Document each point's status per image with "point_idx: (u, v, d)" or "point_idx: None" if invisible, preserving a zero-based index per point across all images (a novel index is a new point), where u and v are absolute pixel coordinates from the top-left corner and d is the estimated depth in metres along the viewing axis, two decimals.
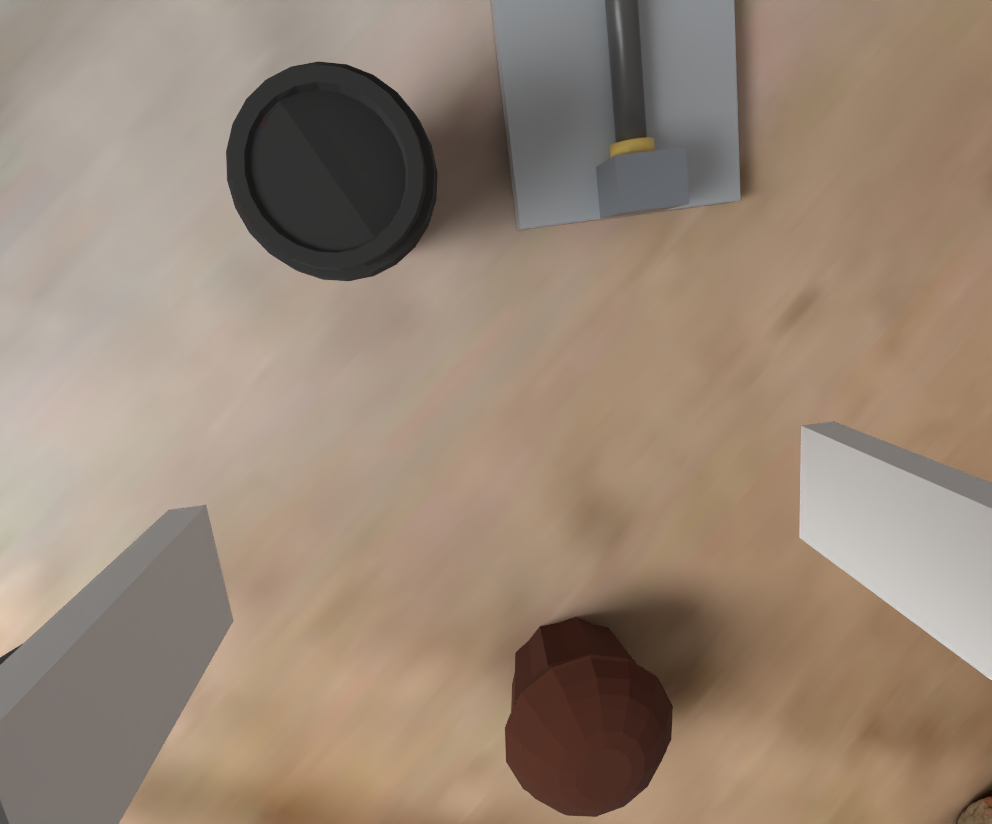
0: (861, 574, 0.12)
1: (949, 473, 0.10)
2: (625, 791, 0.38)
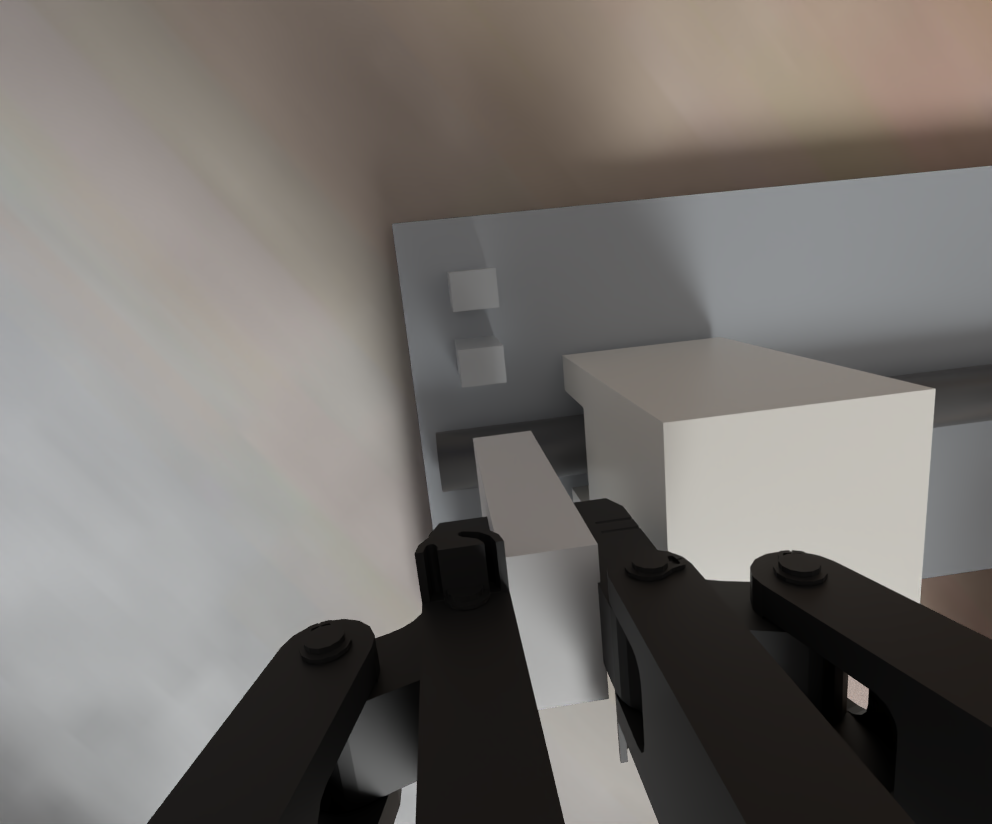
0: None
1: (546, 477, 0.12)
2: None
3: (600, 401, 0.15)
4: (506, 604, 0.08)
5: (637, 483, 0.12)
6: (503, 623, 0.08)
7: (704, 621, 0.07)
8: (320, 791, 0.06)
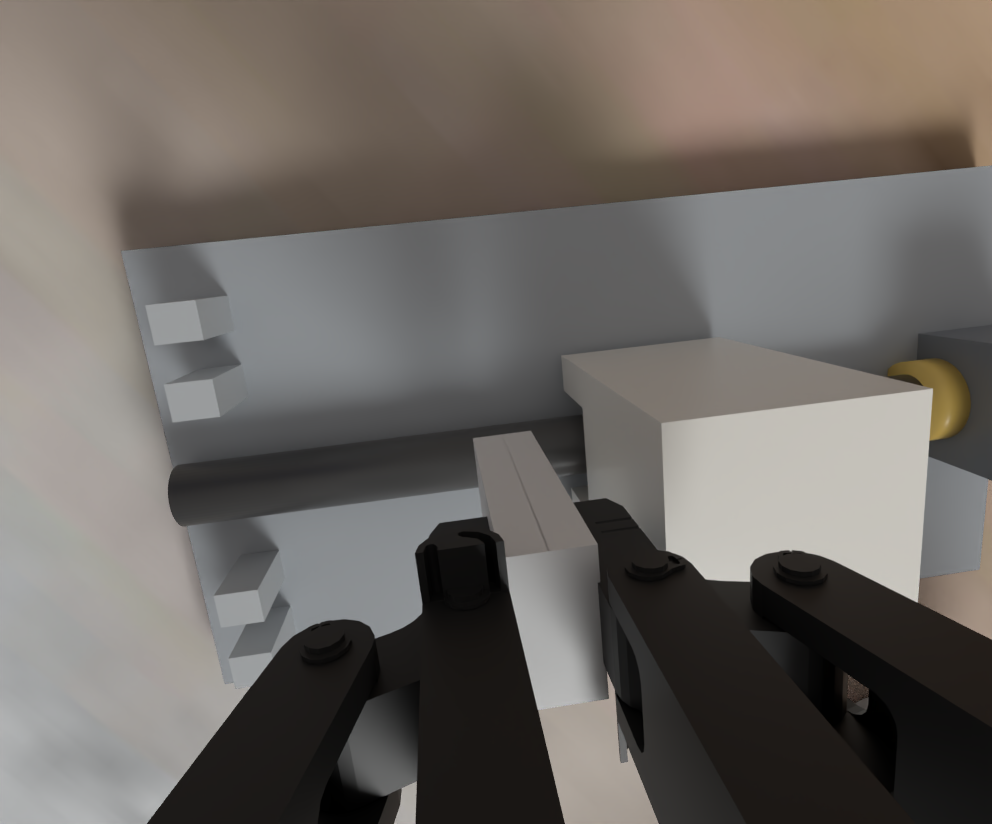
0: None
1: (546, 476, 0.12)
2: None
3: (599, 401, 0.15)
4: (506, 604, 0.08)
5: (636, 483, 0.12)
6: (503, 623, 0.08)
7: (705, 622, 0.07)
8: (320, 791, 0.06)
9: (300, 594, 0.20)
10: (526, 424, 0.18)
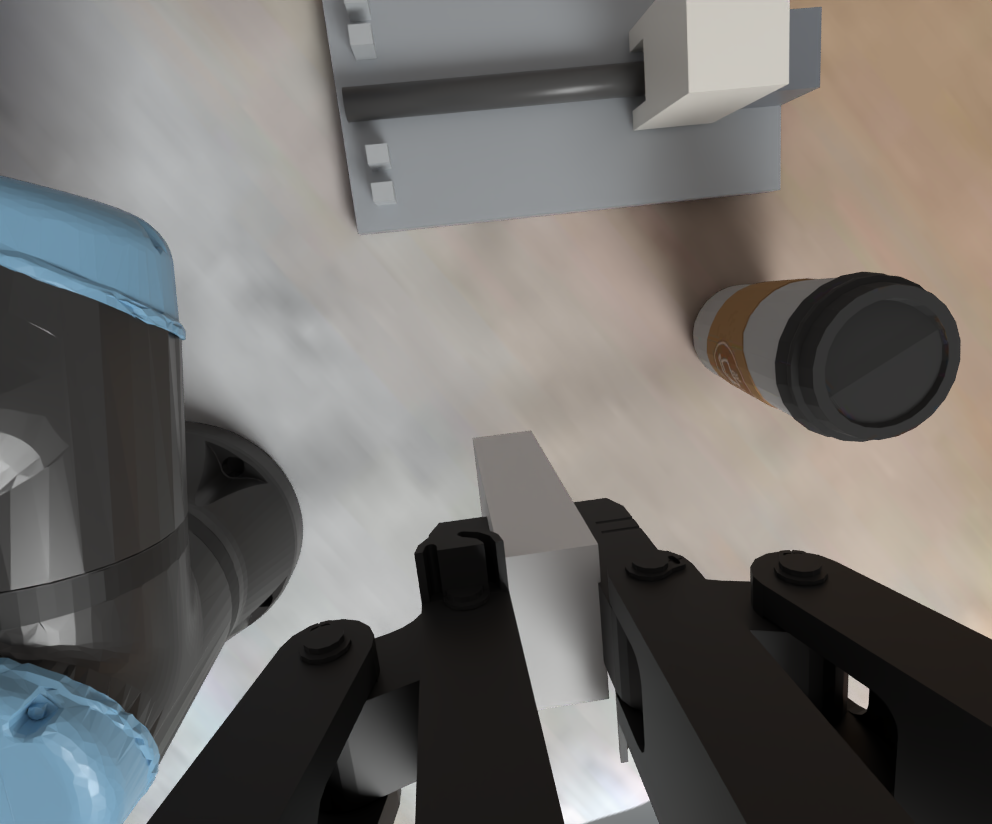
0: None
1: (546, 476, 0.12)
2: None
3: (654, 12, 0.32)
4: (505, 604, 0.08)
5: (673, 18, 0.30)
6: (502, 623, 0.08)
7: (705, 622, 0.07)
8: (320, 791, 0.06)
9: (400, 179, 0.37)
10: (521, 71, 0.35)
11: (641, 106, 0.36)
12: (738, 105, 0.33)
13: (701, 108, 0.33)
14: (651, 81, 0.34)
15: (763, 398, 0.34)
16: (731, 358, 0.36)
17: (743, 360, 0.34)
